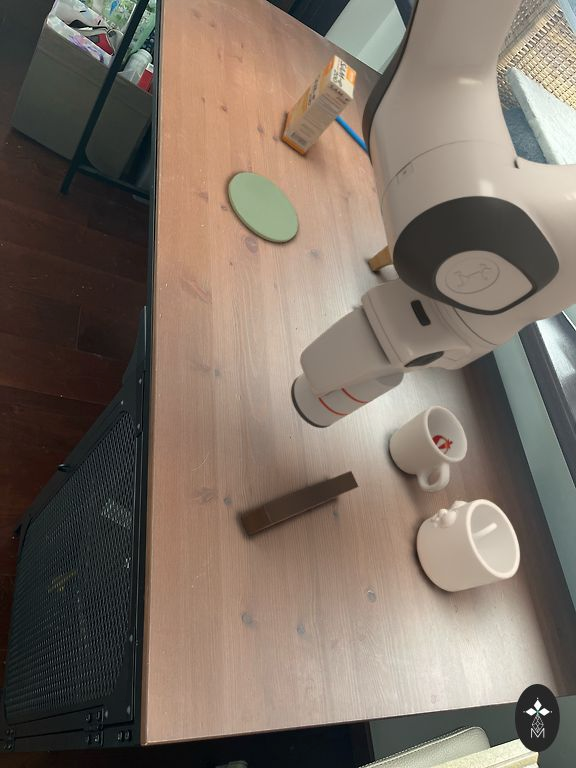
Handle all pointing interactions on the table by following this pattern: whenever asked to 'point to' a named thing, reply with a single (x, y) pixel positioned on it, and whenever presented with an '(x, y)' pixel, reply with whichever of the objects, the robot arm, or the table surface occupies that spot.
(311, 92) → the supplement box
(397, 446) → the cup
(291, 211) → the coaster
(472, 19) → the robot arm
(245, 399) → the table surface
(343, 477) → the rail
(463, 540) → the mug
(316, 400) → the white striped cylinder
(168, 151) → the table surface
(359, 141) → the pen
